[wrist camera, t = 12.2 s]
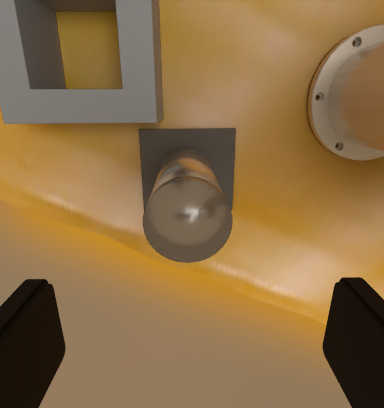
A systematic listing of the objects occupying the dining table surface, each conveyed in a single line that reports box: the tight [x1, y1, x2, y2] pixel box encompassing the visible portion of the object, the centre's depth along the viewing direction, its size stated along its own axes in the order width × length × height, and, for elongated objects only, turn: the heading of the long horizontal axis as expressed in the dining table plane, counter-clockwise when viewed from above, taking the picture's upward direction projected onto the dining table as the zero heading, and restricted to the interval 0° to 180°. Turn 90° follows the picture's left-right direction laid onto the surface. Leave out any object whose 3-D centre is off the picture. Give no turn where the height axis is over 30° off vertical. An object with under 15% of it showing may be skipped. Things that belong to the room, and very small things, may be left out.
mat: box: [139, 129, 236, 211], centre depth 31 cm, size 10×9×1 cm
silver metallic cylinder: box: [143, 147, 232, 263], centre depth 24 cm, size 6×6×14 cm
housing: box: [0, 0, 163, 124], centre depth 24 cm, size 12×12×7 cm
